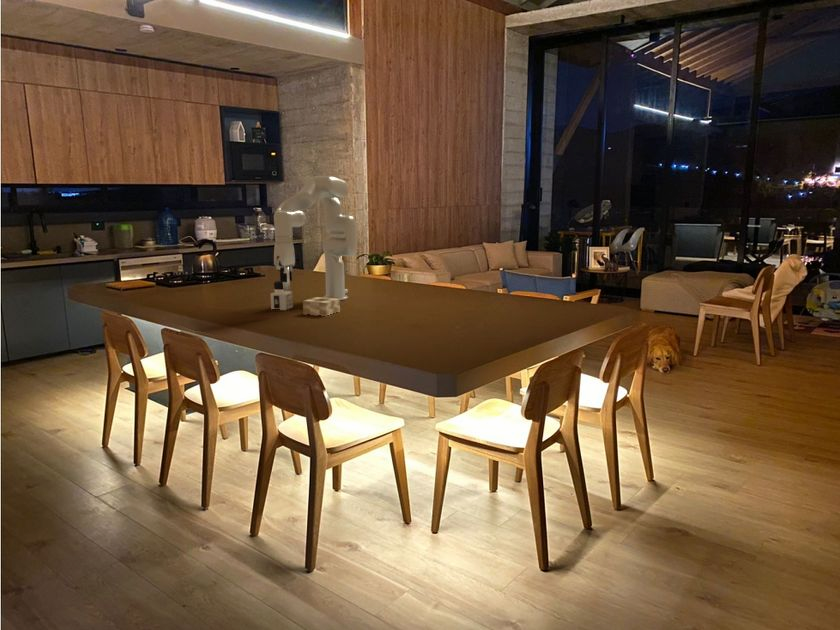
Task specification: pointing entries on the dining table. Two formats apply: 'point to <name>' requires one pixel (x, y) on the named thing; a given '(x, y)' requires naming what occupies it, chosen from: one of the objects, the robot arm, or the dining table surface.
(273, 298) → the container
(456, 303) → the dining table surface
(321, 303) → the square wooden hole block
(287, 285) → the peg
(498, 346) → the dining table surface
